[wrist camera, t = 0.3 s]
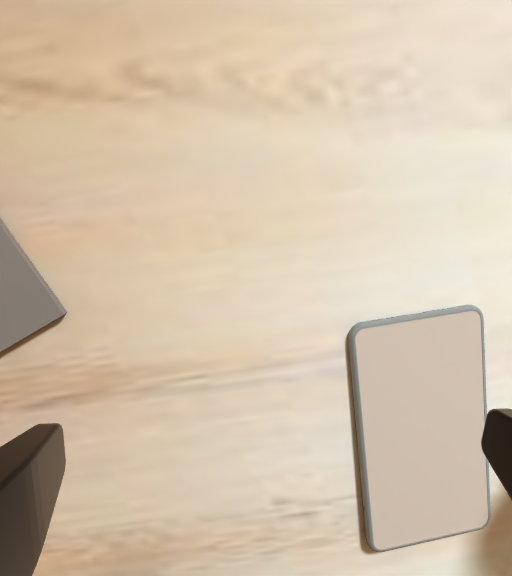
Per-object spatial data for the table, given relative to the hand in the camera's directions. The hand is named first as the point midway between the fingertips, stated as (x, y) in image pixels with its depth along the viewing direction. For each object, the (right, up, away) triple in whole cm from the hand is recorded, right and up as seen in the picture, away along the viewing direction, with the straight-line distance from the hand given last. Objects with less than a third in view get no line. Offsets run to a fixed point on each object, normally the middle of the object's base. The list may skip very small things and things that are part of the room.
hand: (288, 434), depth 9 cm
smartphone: (+9, -6, +18) cm, 21 cm away
